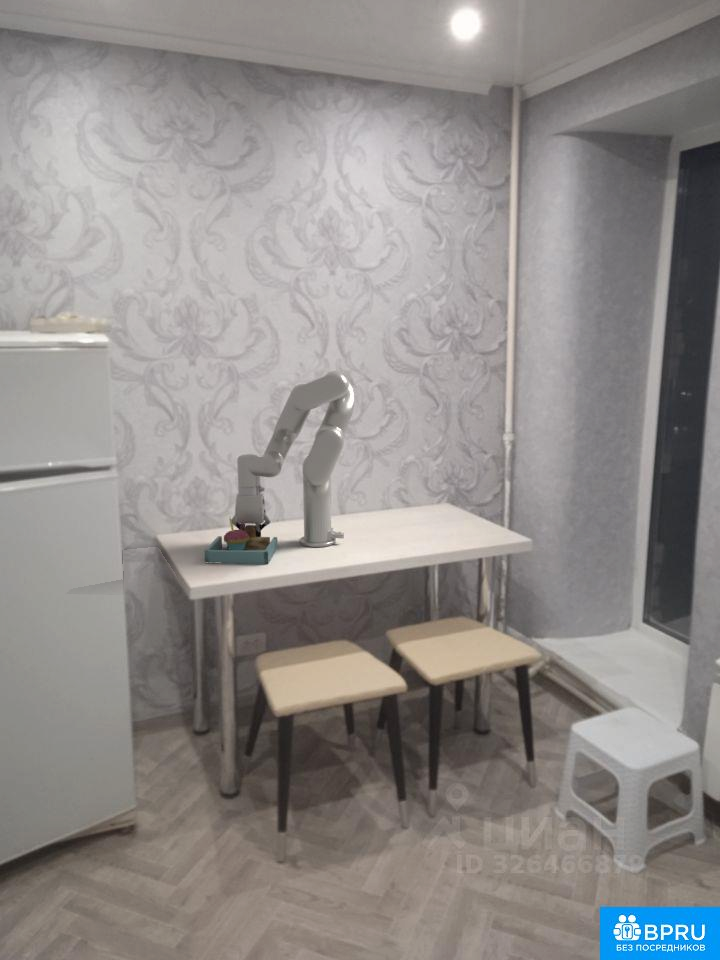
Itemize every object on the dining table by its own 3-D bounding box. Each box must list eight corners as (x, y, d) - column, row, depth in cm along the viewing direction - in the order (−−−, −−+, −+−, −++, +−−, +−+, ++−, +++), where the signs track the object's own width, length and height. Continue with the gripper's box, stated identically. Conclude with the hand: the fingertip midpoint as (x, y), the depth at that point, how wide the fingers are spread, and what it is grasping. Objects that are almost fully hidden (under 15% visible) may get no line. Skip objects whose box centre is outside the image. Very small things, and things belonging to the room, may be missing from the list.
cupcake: (228, 555, 240) (227, 520, 238) (220, 549, 247) (219, 514, 245) (253, 551, 244) (252, 517, 242) (244, 545, 251) (243, 511, 249)
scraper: (272, 541, 255) (271, 525, 254) (267, 548, 247) (267, 531, 246) (233, 541, 256) (232, 524, 255) (227, 548, 249) (226, 531, 247)
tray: (277, 548, 248) (277, 537, 247) (267, 564, 231) (267, 552, 230) (218, 547, 249) (218, 536, 249) (204, 563, 233) (204, 551, 232)
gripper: (275, 488, 253) (277, 539, 256) (228, 488, 254) (230, 538, 258) (271, 493, 245) (272, 545, 249) (222, 492, 247) (224, 544, 250)
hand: (251, 541), depth 253 cm, fingers closed on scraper, 4 cm apart
